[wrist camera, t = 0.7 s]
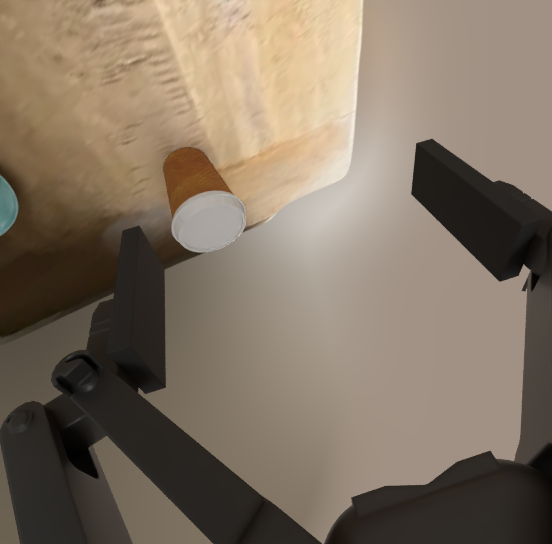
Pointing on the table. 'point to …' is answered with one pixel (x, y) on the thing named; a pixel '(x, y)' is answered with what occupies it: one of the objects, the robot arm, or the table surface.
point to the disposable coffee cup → (201, 202)
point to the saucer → (7, 206)
